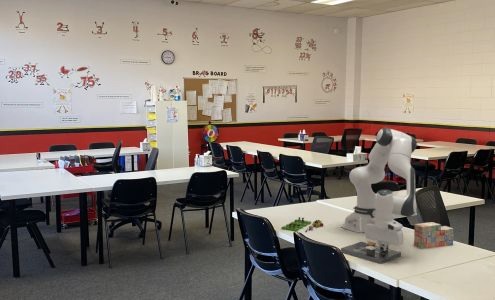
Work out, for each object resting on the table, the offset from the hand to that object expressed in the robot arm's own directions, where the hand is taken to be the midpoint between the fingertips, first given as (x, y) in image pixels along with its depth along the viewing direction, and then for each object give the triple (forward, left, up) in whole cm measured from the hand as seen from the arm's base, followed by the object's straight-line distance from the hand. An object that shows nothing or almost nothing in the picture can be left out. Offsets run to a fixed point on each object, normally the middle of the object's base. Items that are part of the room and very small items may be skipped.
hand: (382, 250), depth 241 cm
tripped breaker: (-7, 0, -1) cm, 7 cm away
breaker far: (-3, +6, -1) cm, 7 cm away
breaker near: (-3, -6, -1) cm, 7 cm away
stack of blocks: (+7, +39, -4) cm, 40 cm away
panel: (-7, 0, -4) cm, 8 cm away
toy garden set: (-65, +14, -5) cm, 66 cm away
